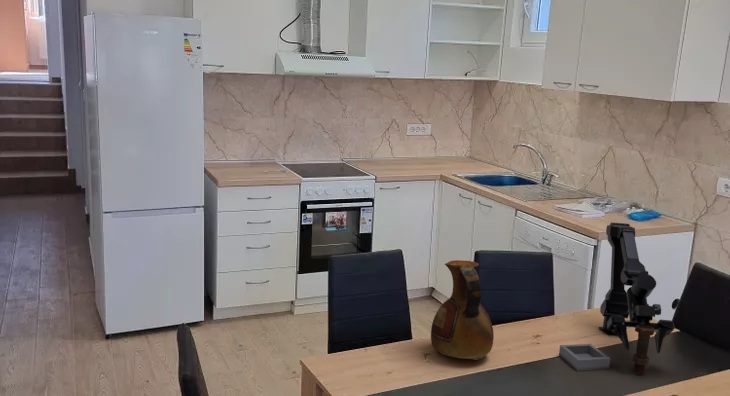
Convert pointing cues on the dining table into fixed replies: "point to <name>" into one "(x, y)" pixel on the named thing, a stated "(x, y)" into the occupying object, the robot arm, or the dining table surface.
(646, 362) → the bolt
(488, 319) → the ceramic pitcher
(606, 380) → the dining table surface
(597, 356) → the socket block
